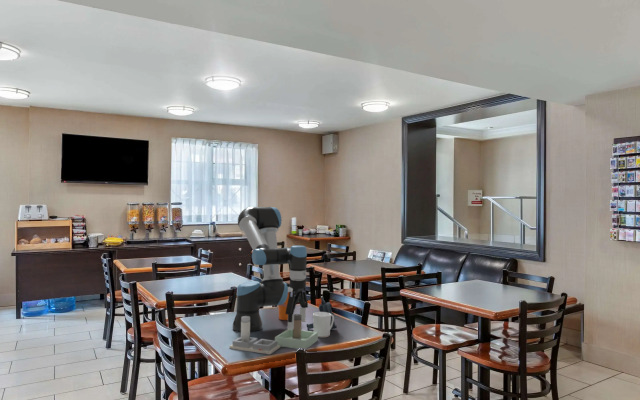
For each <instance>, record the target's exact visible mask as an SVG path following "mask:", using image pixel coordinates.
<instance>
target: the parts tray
mask: <svg viewBox="0 0 640 400" xmlns="http://www.w3.org/2000/svg"><path fill="white" fill-rule="evenodd" d="M318 338H319V337H318V332H313V331H310V330H304V329H303V330H302V329H301V340H299V339H293V329H288V328H287V329H286V330H284V331H282V332H281V333H279V334H278V335H276V336H274V341H277V345H280V347H284V348H290V349H297V350H300V349H299V348H305V349H306V350H308V349H309V348H310V347H311V346H312V345H314V344H315V343H316V342H317V341H318V340H319V339H318Z"/></svg>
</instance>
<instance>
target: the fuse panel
mask: <svg viewBox="0 0 640 400" xmlns="http://www.w3.org/2000/svg"><path fill="white" fill-rule="evenodd" d="M228 346H229V349H231V350H238V351H246V352H251V353H259V354H266V355H271V354H273V353H274V352H276V351H278V349H280V348H281V346H280V345H277V341H275V339H274V340H273V339H272V340H271V339H266V338H260V339H258V337H251V336H250V341H249V342H243V341H241V336H240V337H238V338H236V339H234V340H232V344H230V345H228Z"/></svg>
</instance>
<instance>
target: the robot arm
mask: <svg viewBox="0 0 640 400" xmlns="http://www.w3.org/2000/svg"><path fill="white" fill-rule="evenodd" d="M282 221H283V220H282V214H281V211H280V210H279V209H278V208H277V207H274V206H273V207H271V206H248V207H246V208H244V209H243V210H241V212H240V213H239V215H238V217H237V225H238V228H239V229H240V231H241V232H243V233H244V234H245V237H246V240H247V241H248V243H249V245H250V247H251V249H252V252H251V259H252V263H253V264H254V265H256V266H262V269H263V278H262V279H261V283H260V281H257V280H254V281H252V280H251V281H246V282H241V283H240V284H238V285H237V288H236V313H235V317H234V319H233V323H232V330H234V331H235V332H239V333H241V317H242V316H250V333H253V332H258V331H261V330H262V329H263V321H262V317H261V315H260V308H262V307H263V308H264V307H274V306H276V307H277V306H278V305H282V304H284V303H285V301H286V299H287V296H288V286H287V284H286V283H287V282H286V283H285V281H284V279H283V277H282V276H281V275H280V265H289V283H290V288H292V289H293V291H292V292H289V299H288V303H287V308H286V314H288V320H287V329H294V314H295V313H294V312H295V310H296V306H297V302H298V303H299V306H300V307H299V314H301V315H302V317H301V319H302V322H301V323H305V322H306V316H307V315H306V313H307V312H306V310H307V308H308V307H309V302H308V298H307V291H306V288H307V287H306V286H307V280H306V279H307V277H306V276H307V275H308V273H307V256H308V253H307V251H308V250H307V247H306V246H305V245H291V246H290V247H288V246H287V247H283V248H282V247H281V248H278V240H277V233H278V231H279V228H280V227H282Z"/></svg>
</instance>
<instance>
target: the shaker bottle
mask: <svg viewBox="0 0 640 400" xmlns="http://www.w3.org/2000/svg"><path fill="white" fill-rule="evenodd" d="M284 282H285V281H284ZM285 283H286V284H287V286H288V296H287V299H286V301H285V303H284V304H282V305H277V306H278V307H277V309H278V320H282V321H288V314H286V308H287V303H288V299H289V292H292V291H293V289H292V288H290V282H289V283H288V282H285Z"/></svg>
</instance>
